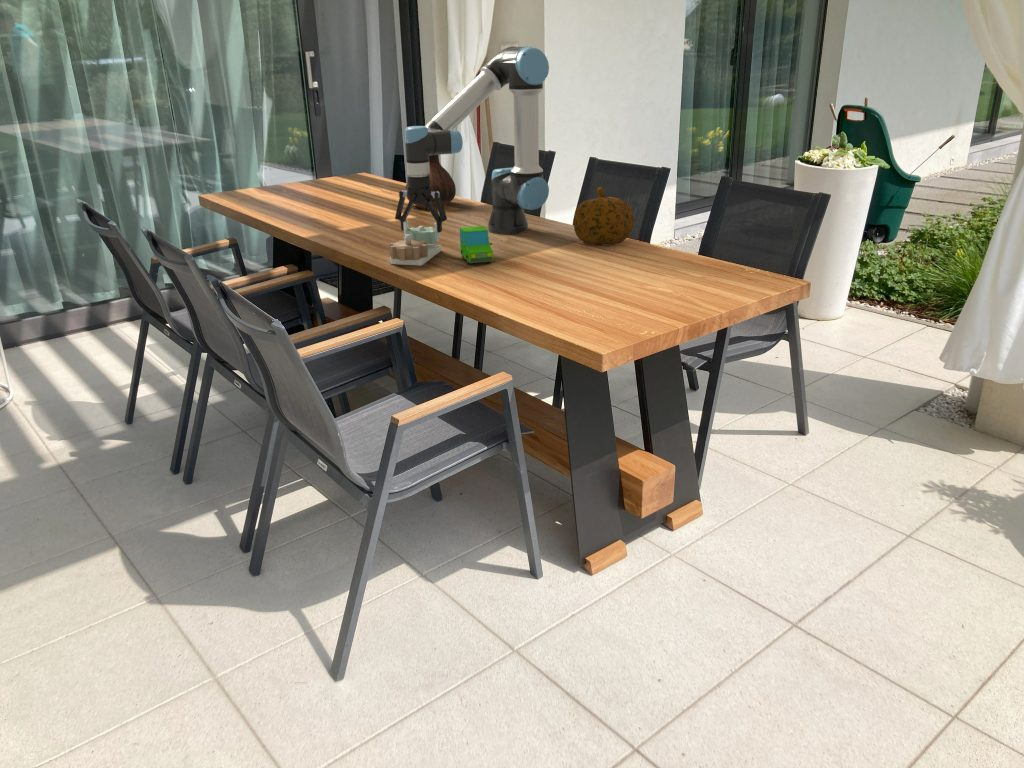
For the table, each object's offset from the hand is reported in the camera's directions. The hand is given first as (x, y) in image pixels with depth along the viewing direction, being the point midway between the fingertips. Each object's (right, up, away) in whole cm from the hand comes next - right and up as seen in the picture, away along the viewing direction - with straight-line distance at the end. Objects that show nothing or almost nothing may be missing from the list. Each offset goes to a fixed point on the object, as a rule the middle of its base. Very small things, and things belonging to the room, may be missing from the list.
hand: (422, 240), depth 285 cm
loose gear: (0, 0, 0) cm, 0 cm away
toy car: (+19, -8, -9) cm, 23 cm away
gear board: (-2, -7, -5) cm, 9 cm away
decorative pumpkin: (+63, +1, +12) cm, 64 cm away
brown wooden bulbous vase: (-4, +28, +76) cm, 81 cm away
